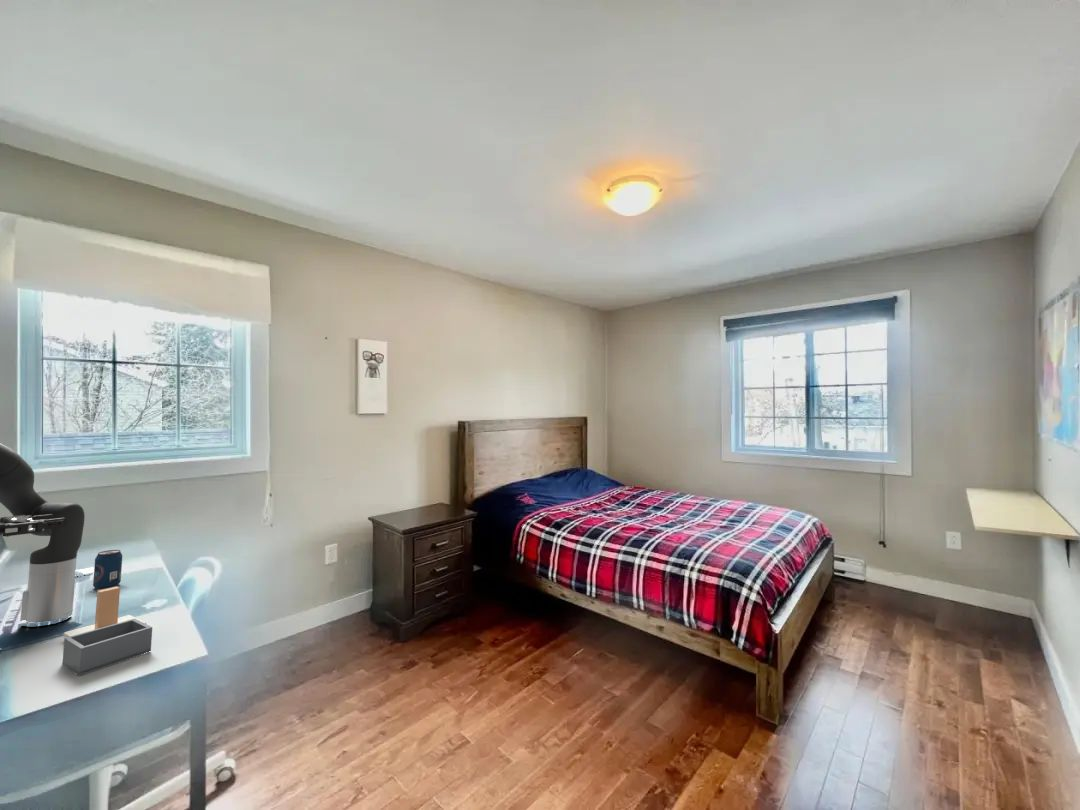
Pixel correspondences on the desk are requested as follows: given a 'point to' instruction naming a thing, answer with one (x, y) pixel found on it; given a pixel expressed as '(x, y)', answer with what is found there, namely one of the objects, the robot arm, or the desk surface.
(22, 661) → the desk surface
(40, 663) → the desk surface
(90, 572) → the external hard drive
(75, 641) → the tub
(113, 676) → the desk surface
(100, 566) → the soda can
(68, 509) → the robot arm
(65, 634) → the lid
